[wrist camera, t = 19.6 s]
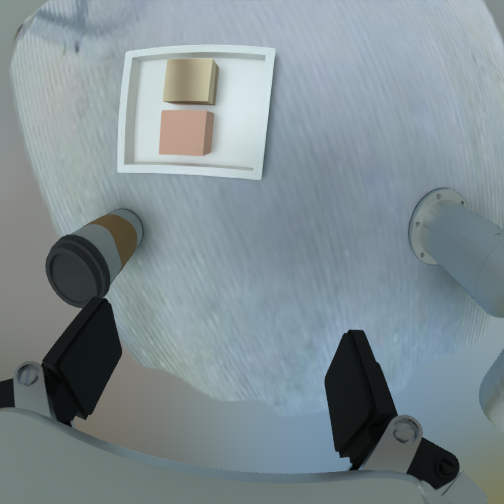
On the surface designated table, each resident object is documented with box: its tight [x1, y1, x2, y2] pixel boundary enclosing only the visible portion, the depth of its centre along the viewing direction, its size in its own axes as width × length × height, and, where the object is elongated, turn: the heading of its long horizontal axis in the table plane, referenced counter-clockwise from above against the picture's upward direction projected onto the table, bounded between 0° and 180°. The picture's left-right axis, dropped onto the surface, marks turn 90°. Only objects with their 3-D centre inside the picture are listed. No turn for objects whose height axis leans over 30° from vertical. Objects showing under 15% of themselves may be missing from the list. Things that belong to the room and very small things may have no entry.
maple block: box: [163, 58, 219, 106], centre depth 26 cm, size 5×5×5 cm
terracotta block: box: [159, 110, 214, 156], centre depth 29 cm, size 5×5×5 cm
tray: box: [117, 45, 275, 180], centre depth 29 cm, size 18×16×4 cm
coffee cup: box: [45, 209, 143, 308], centre depth 31 cm, size 8×8×15 cm
